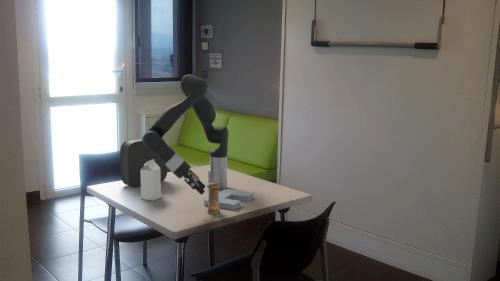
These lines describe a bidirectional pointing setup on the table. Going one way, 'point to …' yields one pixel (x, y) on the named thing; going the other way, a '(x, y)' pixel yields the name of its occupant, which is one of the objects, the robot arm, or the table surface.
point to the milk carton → (150, 181)
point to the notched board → (228, 195)
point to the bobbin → (213, 198)
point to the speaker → (137, 162)
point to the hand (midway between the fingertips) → (203, 190)
